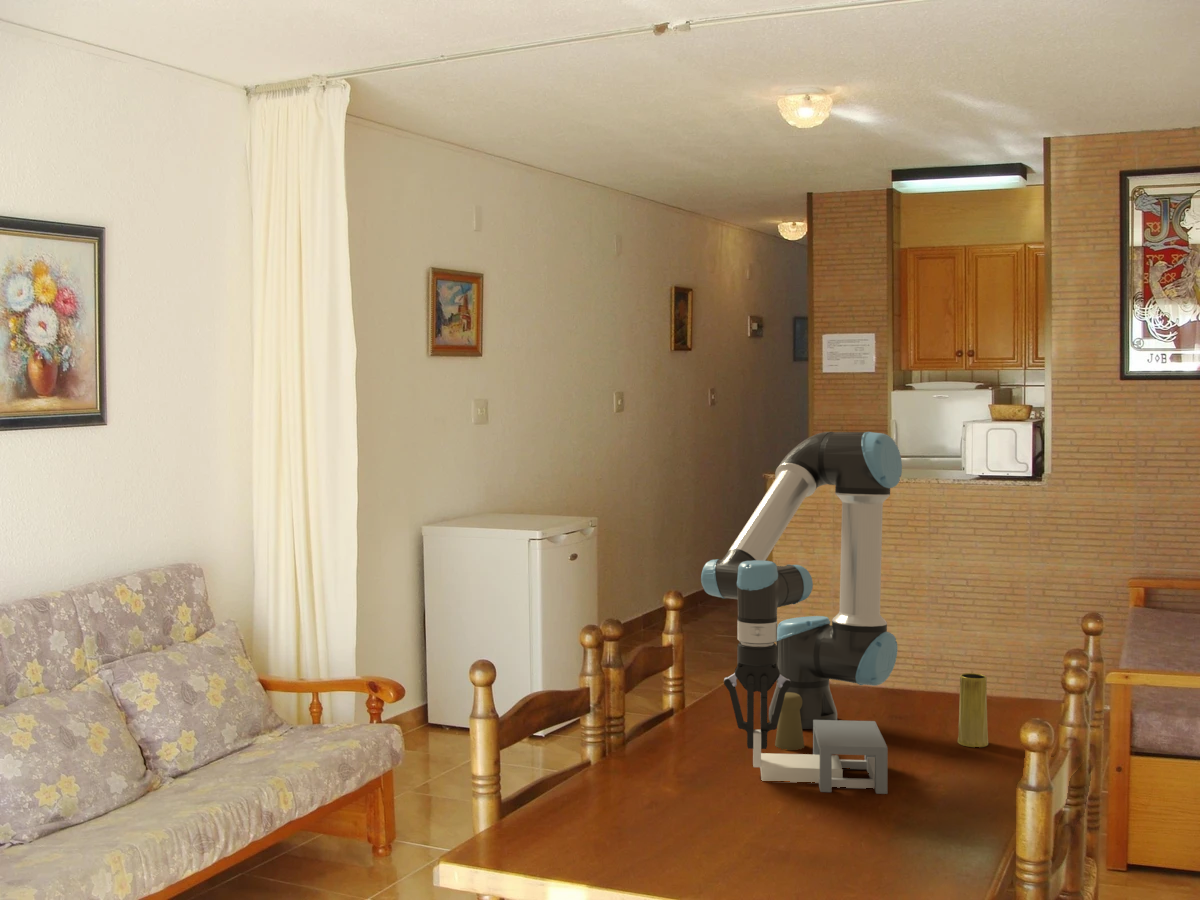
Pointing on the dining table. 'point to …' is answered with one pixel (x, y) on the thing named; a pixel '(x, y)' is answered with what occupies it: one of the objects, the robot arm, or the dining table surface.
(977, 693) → the vase
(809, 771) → the cover
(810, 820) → the dining table surface
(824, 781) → the shelf
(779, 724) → the cork
